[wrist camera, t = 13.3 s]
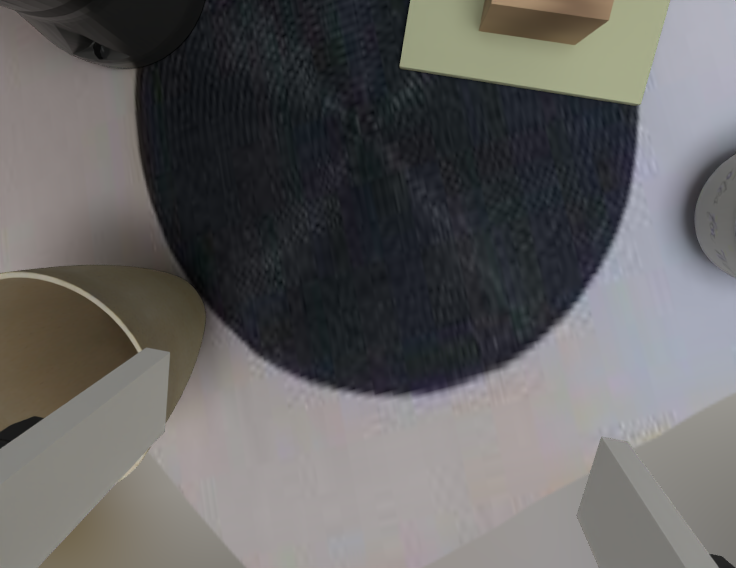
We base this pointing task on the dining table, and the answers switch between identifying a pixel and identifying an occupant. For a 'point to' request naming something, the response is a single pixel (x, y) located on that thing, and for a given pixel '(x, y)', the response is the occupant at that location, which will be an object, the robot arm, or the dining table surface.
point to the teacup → (719, 217)
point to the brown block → (545, 18)
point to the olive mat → (537, 50)
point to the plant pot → (90, 332)
